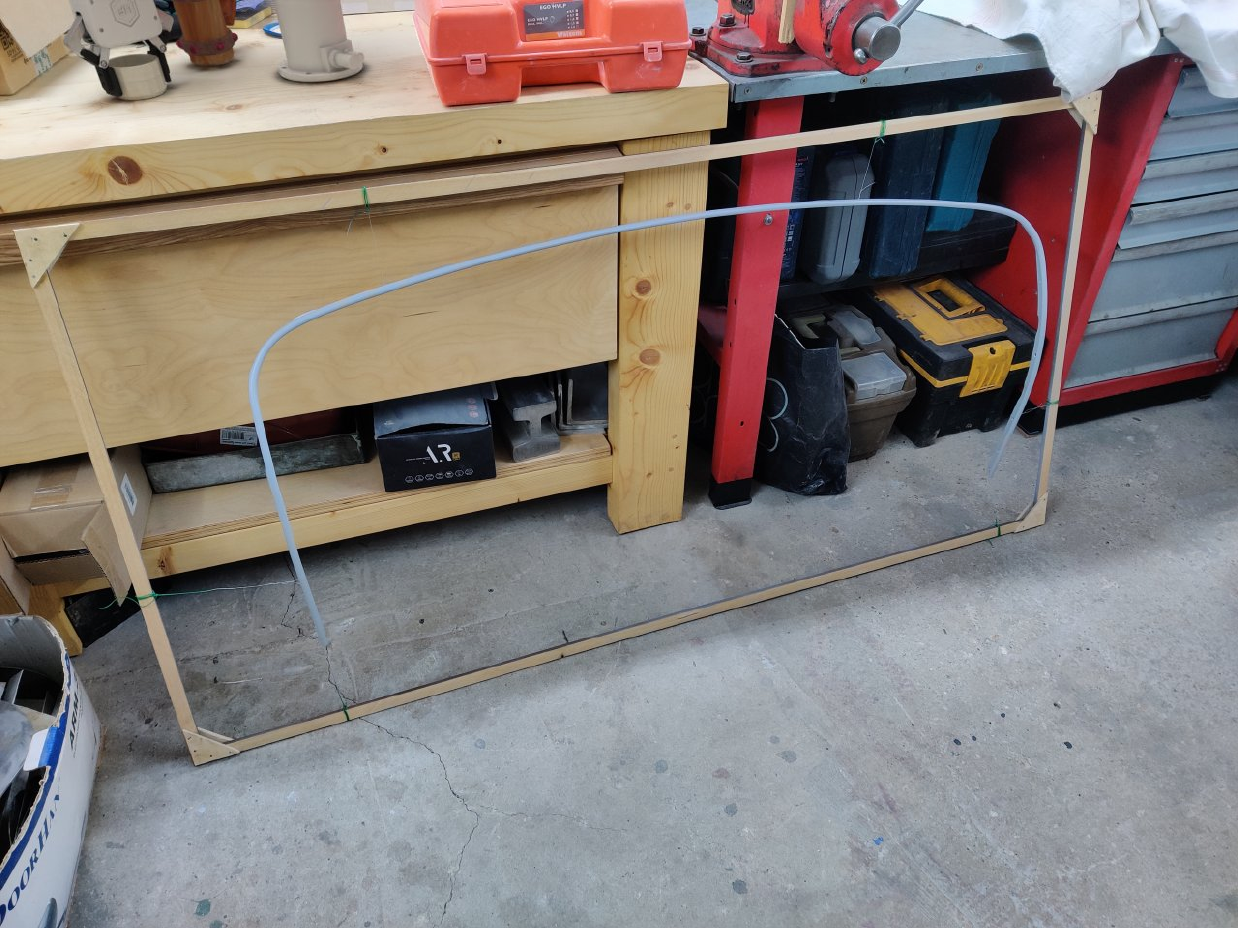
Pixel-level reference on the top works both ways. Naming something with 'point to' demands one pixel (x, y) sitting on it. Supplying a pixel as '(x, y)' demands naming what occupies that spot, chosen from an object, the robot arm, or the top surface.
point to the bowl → (139, 76)
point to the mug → (207, 30)
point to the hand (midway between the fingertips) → (139, 87)
